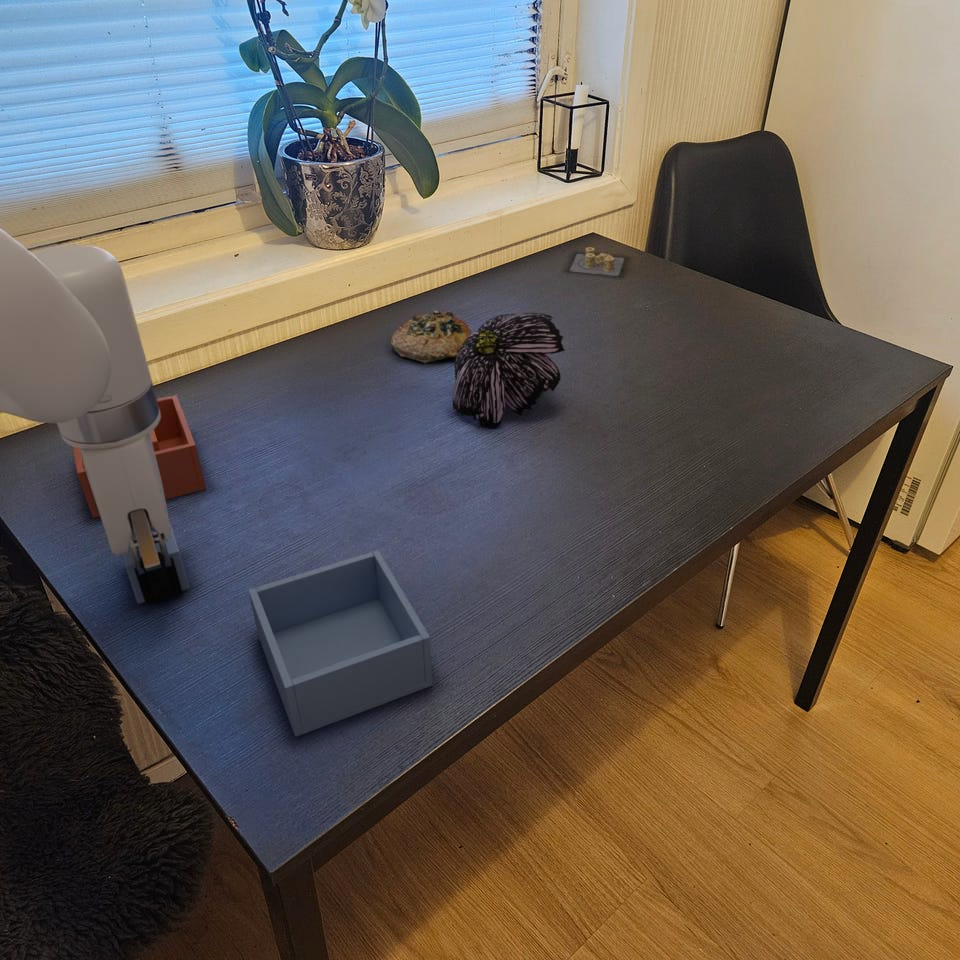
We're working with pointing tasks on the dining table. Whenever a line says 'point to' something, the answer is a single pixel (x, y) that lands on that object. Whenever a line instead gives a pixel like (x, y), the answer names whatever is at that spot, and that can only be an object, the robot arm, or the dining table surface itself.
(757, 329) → the dining table surface
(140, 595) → the slate block
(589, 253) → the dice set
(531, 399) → the decorative flower
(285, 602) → the slate bin
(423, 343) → the bread roll
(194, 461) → the terracotta bin
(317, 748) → the dining table surface
